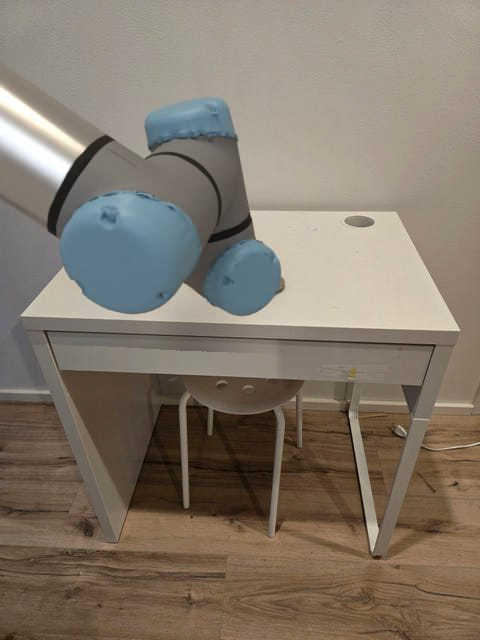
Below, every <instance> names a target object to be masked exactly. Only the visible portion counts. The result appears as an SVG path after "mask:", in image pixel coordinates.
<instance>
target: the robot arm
mask: <svg viewBox="0 0 480 640" xmlns="http://www.w3.org/2000/svg"><path fill="white" fill-rule="evenodd" d="M144 132H145V135H146V140H147V143H146V145H147V149H148V151H149V152H150V153H149V154H148V155H147V156H146V157H144V158H143V157H142V156H140V155H139V154H137V153H136V152H134V151H133V150H131V149H129V148H128V147H127V146H125V145H124V144H122V143H120V142H119V141H117V140H116V139H114V138H113V137H112V136H110V135H109V134H107V133H105V132H104V131H103V130H101V129H99V128H98V127H97V126H95V125H93V124H92V123H91V122H89V121H88V120H86V119H85V118H84V117H82V116H81V115H79V114H78V113H76V112H75V111H74V110H72V109H71V108H70V107H68V106H66V105H65V104H63V103H62V102H60V101H59V100H58V99H56V98H55V97H53V96H52V95H50V94H49V93H48V92H46V91H45V90H43V89H41V88H40V87H39V86H37V85H36V84H34V83H33V82H31V81H29V79H27V78H25V77H24V76H23V75H21V74H20V73H18V72H17V71H16V70H14V69H12V68H11V67H10V66H8V65H7V64H5V63H4V62H2V61H1V60H0V203H1V204H2V205H4V206H6V207H7V208H9V209H11V210H12V211H14V212H16V213H17V214H19V216H20V215H21V216H22V217H23V218H25V219H27V220H28V221H30V222H32V223H33V224H35V225H36V226H38V227H40V228H41V229H43V230H44V231H47V232H48V233H49V234H51V235H53V236H54V237H56V238H57V239H59V255H60V259H61V262H62V265H63V269H64V272H65V273H66V275H67V276H68V278H69V280H71V281H74V282H75V284H76V285H77V286H78V287H79V288H80V289H81V293H82V295H83V296H85V297H86V299H88V300H89V301H91V302H92V303H94V304H95V305H98V306H99V307H101V308H103V309H106V310H108V311H112V312H115V313H120V314H125V315H141V314H146V313H150V312H153V311H155V310H157V309H159V308H161V307H163V306H164V305H166V304H167V303H168V302H169V301H170V300H172V298H173V297H174V296H176V294H177V293H178V291H179V290H180V288H181V287H182V285H183V284H184V285H186V286H188V287H189V288H190V289H191V290H193V291H194V292H196V293H197V294H198V295H200V296H201V297H202V298H204V299H205V300H206V302H207V303H209V305H211V306H212V307H216V308H219V309H221V310H222V311H224V312H226V313H228V314H230V315H233V316H236V317H247V316H251V315H254V314H256V313H258V312H260V311H261V310H263V309H265V307H266V306H268V305H269V304H270V302H271V301H272V300H273V299H274V297H275V296H276V294H277V290H278V288H279V284H280V280H281V277H282V266H281V261H280V259H279V257H278V255H277V254H276V252H274V250H273V249H272V248H270V247H269V246H267V245H266V244H265V243H264V242H263V241H262V240H259V239H257V237H256V232H255V228H254V222H253V221H254V220H253V218H252V215H251V210H250V205H249V201H248V194H247V188H246V184H245V178H244V172H243V168H242V167H243V166H242V161H241V155H240V151H239V145H238V142H239V137H238V134H237V133H236V129H235V126H234V123H233V120H232V115H231V110H230V107H229V105H228V103H227V102H226V101H225V100H224V99H222V98H220V97H216V96H206V97H204V96H203V97H198V98H197V97H196V98H192V99H187V100H183V101H179V102H175V103H171V104H167V105H165V106H162V107H159V108H157V109H153V110H152V111H151V112H149V113H148V114H147V115H146V117H145V119H144Z"/></svg>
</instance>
